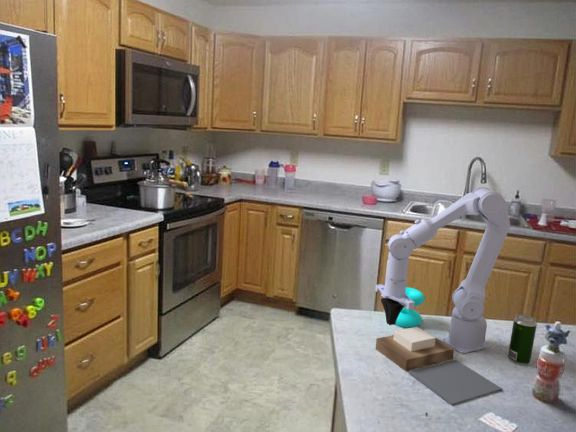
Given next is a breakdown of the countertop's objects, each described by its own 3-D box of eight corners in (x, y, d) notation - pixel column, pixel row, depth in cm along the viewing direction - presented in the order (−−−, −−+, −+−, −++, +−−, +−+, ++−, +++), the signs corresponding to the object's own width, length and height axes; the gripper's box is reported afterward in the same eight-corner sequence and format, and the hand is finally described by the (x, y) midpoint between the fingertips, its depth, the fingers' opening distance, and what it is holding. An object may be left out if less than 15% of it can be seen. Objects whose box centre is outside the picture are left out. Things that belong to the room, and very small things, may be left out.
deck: (420, 339, 130) (422, 329, 130) (452, 359, 120) (454, 348, 119) (375, 348, 123) (376, 338, 123) (405, 371, 113) (406, 359, 112)
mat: (455, 361, 119) (456, 359, 119) (501, 389, 107) (502, 388, 107) (408, 373, 112) (408, 371, 112) (451, 405, 100) (451, 403, 100)
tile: (416, 334, 126) (417, 326, 126) (434, 346, 120) (435, 337, 120) (393, 339, 123) (394, 331, 122) (411, 351, 117) (412, 342, 116)
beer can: (522, 368, 118) (530, 324, 115) (503, 358, 122) (510, 316, 120) (534, 363, 121) (541, 320, 118) (514, 353, 125) (521, 312, 123)
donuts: (393, 295, 135) (389, 284, 145) (390, 327, 137) (386, 314, 147) (428, 298, 134) (421, 287, 144) (424, 330, 136) (417, 316, 146)
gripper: (368, 271, 131) (364, 315, 134) (402, 288, 119) (396, 337, 121) (388, 268, 134) (383, 312, 137) (422, 285, 122) (416, 333, 125)
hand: (390, 323), depth 130 cm, fingers closed
